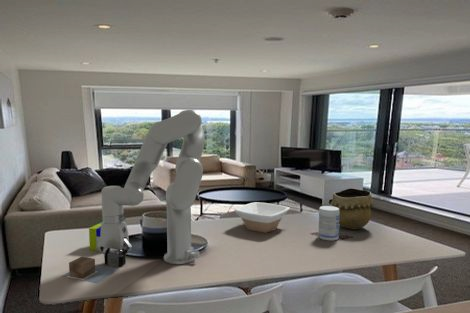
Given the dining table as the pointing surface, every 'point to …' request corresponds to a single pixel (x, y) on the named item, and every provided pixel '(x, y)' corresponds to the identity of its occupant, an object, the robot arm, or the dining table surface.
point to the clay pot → (353, 207)
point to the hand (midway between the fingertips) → (115, 263)
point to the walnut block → (82, 267)
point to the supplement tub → (328, 223)
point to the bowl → (261, 216)
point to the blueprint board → (96, 274)
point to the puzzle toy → (95, 237)
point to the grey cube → (113, 257)
